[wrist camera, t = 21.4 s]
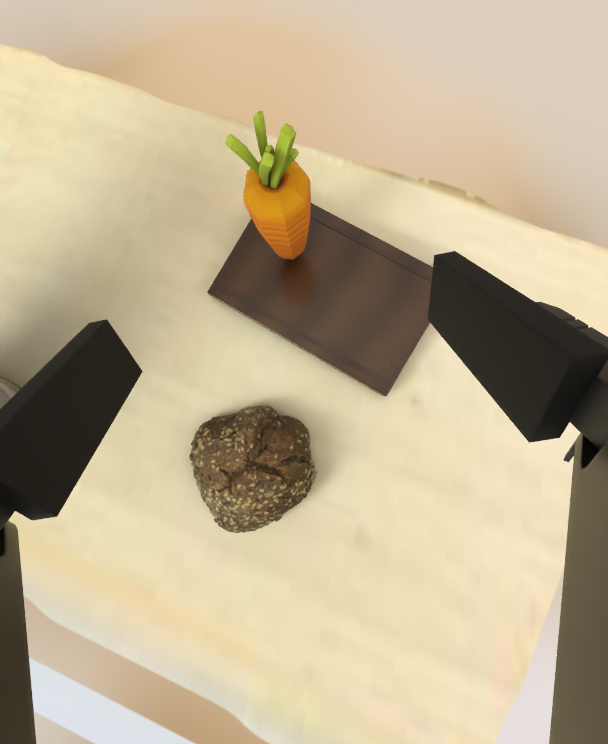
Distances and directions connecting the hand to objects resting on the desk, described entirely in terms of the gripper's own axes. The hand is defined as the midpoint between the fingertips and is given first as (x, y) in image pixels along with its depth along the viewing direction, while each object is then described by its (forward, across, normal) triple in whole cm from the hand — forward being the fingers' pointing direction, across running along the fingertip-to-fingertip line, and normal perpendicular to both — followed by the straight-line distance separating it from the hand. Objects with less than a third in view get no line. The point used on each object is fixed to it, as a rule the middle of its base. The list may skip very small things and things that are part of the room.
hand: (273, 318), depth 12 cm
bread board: (+20, +4, -8) cm, 21 cm away
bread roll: (+8, -7, -21) cm, 23 cm away
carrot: (+21, +1, -4) cm, 22 cm away
